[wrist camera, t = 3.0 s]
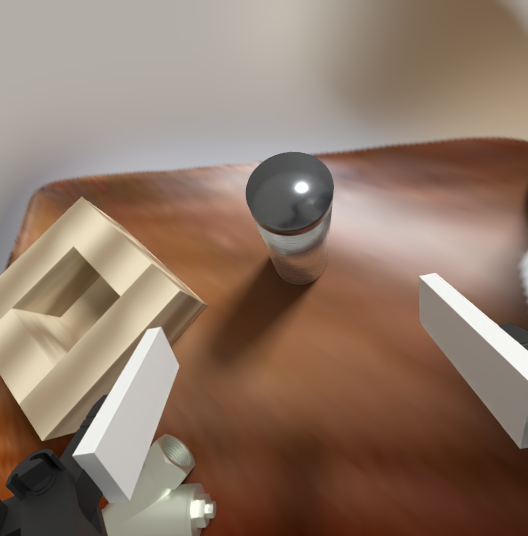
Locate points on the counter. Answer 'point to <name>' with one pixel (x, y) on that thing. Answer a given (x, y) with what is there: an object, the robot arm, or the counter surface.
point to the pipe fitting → (162, 497)
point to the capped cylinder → (293, 213)
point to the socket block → (82, 315)
